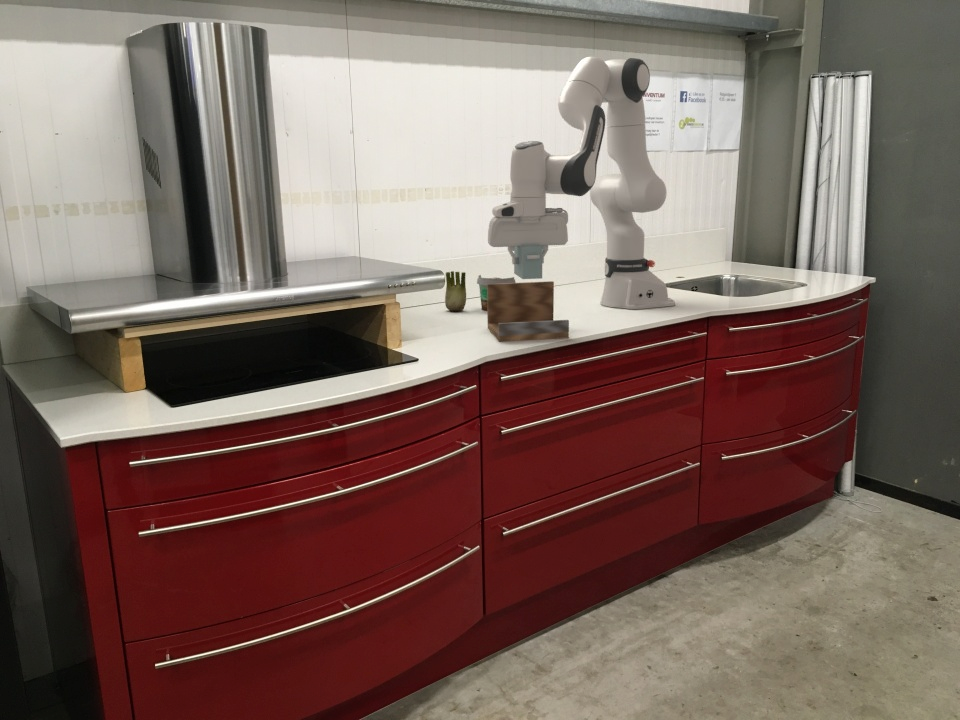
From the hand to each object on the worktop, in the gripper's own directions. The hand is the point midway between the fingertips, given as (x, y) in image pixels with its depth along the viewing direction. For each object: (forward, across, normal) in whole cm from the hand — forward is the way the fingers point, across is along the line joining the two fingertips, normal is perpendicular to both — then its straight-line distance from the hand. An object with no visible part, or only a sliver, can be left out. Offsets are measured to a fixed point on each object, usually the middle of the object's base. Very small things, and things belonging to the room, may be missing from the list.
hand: (527, 263), depth 202 cm
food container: (+18, +3, -33) cm, 38 cm away
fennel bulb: (+18, +14, -35) cm, 42 cm away
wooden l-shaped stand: (+18, 0, -1) cm, 18 cm away
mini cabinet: (+3, 0, 0) cm, 3 cm away
